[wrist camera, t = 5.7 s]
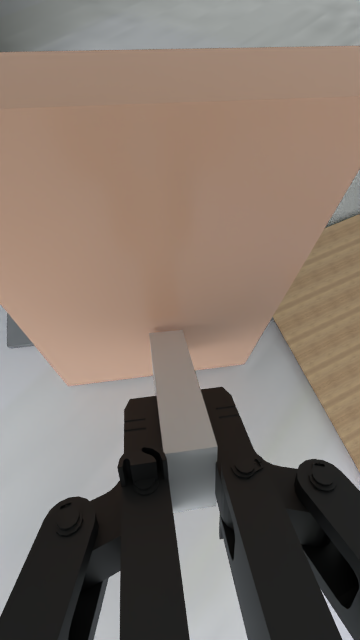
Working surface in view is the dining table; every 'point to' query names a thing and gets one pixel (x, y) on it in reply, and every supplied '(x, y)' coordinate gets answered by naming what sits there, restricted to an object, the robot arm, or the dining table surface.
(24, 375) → the dining table surface
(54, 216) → the tile
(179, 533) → the dining table surface
